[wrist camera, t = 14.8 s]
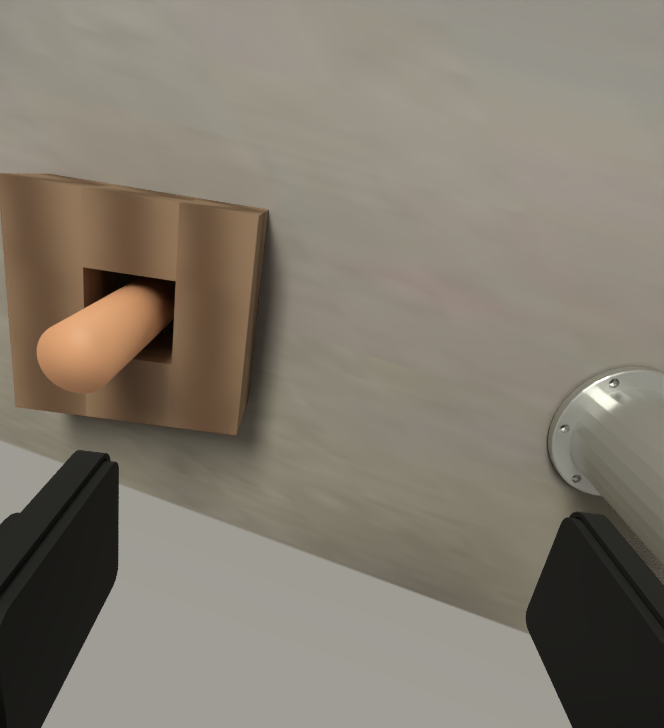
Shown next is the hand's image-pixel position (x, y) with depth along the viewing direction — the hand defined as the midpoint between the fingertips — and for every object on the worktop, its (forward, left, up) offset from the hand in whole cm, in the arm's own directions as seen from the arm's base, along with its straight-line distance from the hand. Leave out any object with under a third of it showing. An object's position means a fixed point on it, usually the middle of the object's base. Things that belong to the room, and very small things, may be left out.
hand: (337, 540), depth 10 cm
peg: (+13, +4, -30) cm, 33 cm away
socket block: (+13, +4, -30) cm, 33 cm away
